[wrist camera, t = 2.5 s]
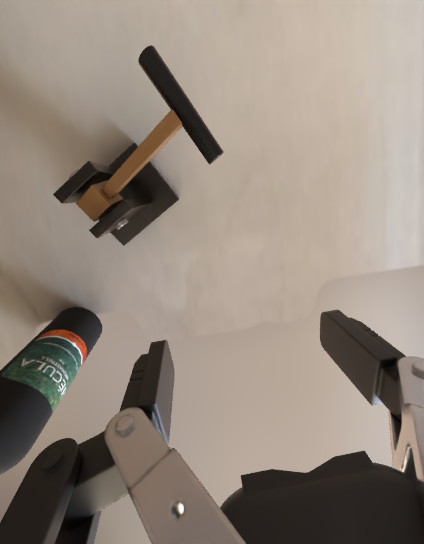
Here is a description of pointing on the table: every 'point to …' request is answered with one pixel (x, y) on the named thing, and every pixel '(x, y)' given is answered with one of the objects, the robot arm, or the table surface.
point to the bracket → (136, 197)
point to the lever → (152, 138)
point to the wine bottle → (42, 380)
